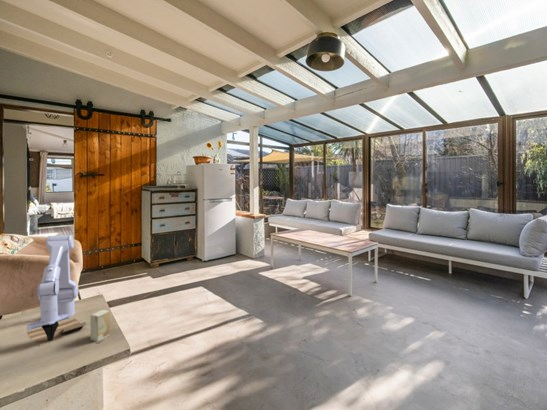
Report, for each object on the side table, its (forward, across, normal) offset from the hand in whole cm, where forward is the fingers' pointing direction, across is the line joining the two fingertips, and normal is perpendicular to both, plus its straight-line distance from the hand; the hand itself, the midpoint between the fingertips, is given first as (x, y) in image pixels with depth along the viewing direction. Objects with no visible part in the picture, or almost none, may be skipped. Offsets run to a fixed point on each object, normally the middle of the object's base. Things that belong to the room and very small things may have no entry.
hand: (50, 340), depth 122 cm
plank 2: (-1, +9, +2) cm, 9 cm away
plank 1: (+1, 0, +2) cm, 2 cm away
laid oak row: (+1, +4, +11) cm, 11 cm away
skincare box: (+1, +15, -13) cm, 20 cm away
